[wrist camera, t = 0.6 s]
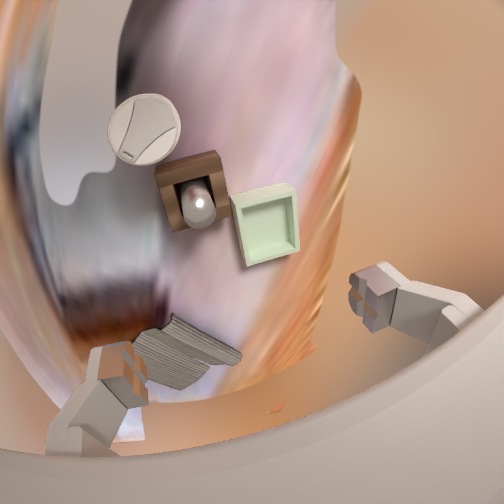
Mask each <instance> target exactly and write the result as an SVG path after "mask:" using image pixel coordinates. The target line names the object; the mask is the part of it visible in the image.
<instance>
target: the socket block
mask: <svg viewBox="0 0 504 504" xmlns="http://www.w3.org/2000/svg"><path fill="white" fill-rule="evenodd" d="M206 175H207V178H208V182H209V187H210V191H211V195H210V196H211V199H212V201H213V204H214V206H215V209H216V217H215V219H214V221H215V220H219V219H222V218H226V217H230V216H232V212H231V207H230V202H229V197H228V192H227V187H226V182H225V177H224V172H223V167H222V162H221V157H220V156H219V155H218V153H217V152H216V151H215V150H213V151H208V152H204V153H200V154H196V155H193V156H189V157H185V158H181V159H178V160H174V161H171V162H167V163H164V164H160V165H157V166H156V170H155V178H156V181H157V185H158V188H159V191H160V195H161V198H162V201H163V204H164V207H165V211H166V214H167V217H168V220H169V223H170V226H171V229H172V232H176V231H180V230H183V229H187V228H190V226H189V225H188V224H187V223H186V222H185V220H184V215H183V209H182V203H181V204H180V201H179V198H178V194H177V191H176V187H175V184H176V183H180V182H183V181H187V180H191V179H194V178H198V177H202V176H206Z"/></svg>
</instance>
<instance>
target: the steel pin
mask: <svg viewBox="0 0 504 504" xmlns="http://www.w3.org/2000/svg"><path fill="white" fill-rule="evenodd" d="M179 187H180V195H181V202H182V209H183V215H184V220H185V222H186V223H187V224H188V225H189V226H190V227H192V228H196V229H202V228H205V227H207V226H209V225H210V224H211V223H212V222H213V221H214V219H215V217H216V209H215V206H214V204H213V201H212V199H211V196H210V194H209V191H208V189H207V186H206V184H205V181H204V179H203V177H198V178H194V179H191V180H187V181H183V182H180V183H179Z"/></svg>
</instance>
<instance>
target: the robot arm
mask: <svg viewBox="0 0 504 504" xmlns="http://www.w3.org/2000/svg"><path fill="white" fill-rule="evenodd" d="M349 283H350V284H351V285H352V288H351V289H350V291H349V303H350V306H351V308H352V310H353V312H354V313H355V314H356V315H358V316H361V317H363V323H364V325H365V326H366V327H367V328H368V330H369V331H370V332H371V333H374V332H377V331H379V330H381V329H383V328H385V327H388V326H390V327H392V328H395V329H397V330H399V331H401V332H404V333H406V334H408V335H410V336H412V337H414V338H417V339H419V340H421V341H423V342H425V343H428V344H429V346H428V348H427V351H426V353H425V356H423V357H422V358H420V359H418V360H417V361H415V362H414V363H412V364H410V365H409V366H407V367H406V368H404V369H402V370H400V371H399V372H397V373H395V374H393V375H392V376H390V377H388V378H386V379H385V380H383V381H381V382H379V383H377V384H375V385H373V386H371V387H369V388H367V389H365V390H363V391H361V392H359V393H357V394H355V395H353V396H351V397H349V398H347V399H344V400H342V401H340V402H338V403H335V404H333V405H331V406H329V407H326V408H324V409H321V410H319V411H317V412H314V413H312V414H309V415H307V416H304V417H301V418H299V419H296V420H293V421H290V422H287V423H285V424H282V425H279V426H276V427H273V428H269V429H266V430H263V431H260V432H256V433H253V434H249V435H246V436H242V437H238V438H235V439H231V440H227V441H223V442H219V443H214V444H210V445H204V446H199V447H194V448H189V449H183V450H177V451H171V452H163V453H154V454H146V455H134V456H120V455H118V454H117V453H115V452H114V451H112V450H111V449H109V448H110V446H111V444H112V442H113V440H114V438H115V435H116V433H117V431H118V429H119V427H120V425H121V423H122V421H123V419H124V417H125V415H126V413H127V411H128V409H130V408H135V407H141V406H146V405H148V390H147V388H146V387H145V386H144V385H145V383H146V382H147V380H148V378H147V370H146V366H145V364H144V361H143V360H142V358H141V357H140V356H139V355H137V354H135V347H134V346H133V345H132V343H131V342H130V341H124V342H119V343H114V344H109V345H104V346H100V347H94V348H92V349H91V351H90V356H89V361H88V366H87V371H86V377H85V382H84V383H81V384H80V385H79V387H78V388H77V389H76V390H75V392H74V393H73V394H72V396H71V397H70V398H69V399H68V401H67V402H66V403H65V405H64V406H63V407H62V409H61V410H60V411H59V413H58V414H57V415H56V417H55V418H54V419H53V421H52V422H51V423H50V425H49V427H48V433H47V441H46V450H45V455H40V454H32V453H24V452H18V451H12V450H7V449H1V448H0V504H504V294H503V295H502V296H501V297H500V298H499V299H498V300H497V301H496V302H495V303H493V304H492V305H491V306H490V307H489V308H488V309H487V310H485V311H484V310H483V309H482V308H481V307H480V306H478V305H477V304H476V303H475V302H474V301H473V300H471V299H470V298H469V297H468V296H467V295H466V294H464V293H460V292H456V291H452V290H448V289H444V288H441V287H437V286H433V285H429V284H425V283H421V282H417V281H412V282H411V281H409V280H408V279H407V278H406V277H405V276H403V275H402V274H401V273H400V272H399V271H397V270H396V269H395V268H394V267H392V266H391V265H390V264H389V263H387V262H385V261H382V262H379V263H377V264H374V265H373V266H370V267H367V268H365V269H362V270H360V271H357V272H354V273H352V274H351V275H350V277H349Z"/></svg>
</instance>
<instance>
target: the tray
mask: <svg viewBox="0 0 504 504" xmlns="http://www.w3.org/2000/svg"><path fill="white" fill-rule="evenodd" d="M230 200H231V205H232V210H233V215H234V220H235V225H236V230H237V235H238V240H239V245H240V250H241V254H242V257H243V259H244V261H245V263H246V265H247V266H251V265H254V264H257V263H261V262H264V261H268V260H271V259H274V258H278V257H281V256H284V255H288V254H291V253H294V252H298V251H300V244H299V225H298V209H297V194H296V190H295V189H294V188H293V187H292V186H291V185H290V184H289V183H287V182H284V183H279V184H275V185H270V186H266V187H262V188H258V189H254V190H249V191H245V192H241V193H237V194H233V195H230Z"/></svg>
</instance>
